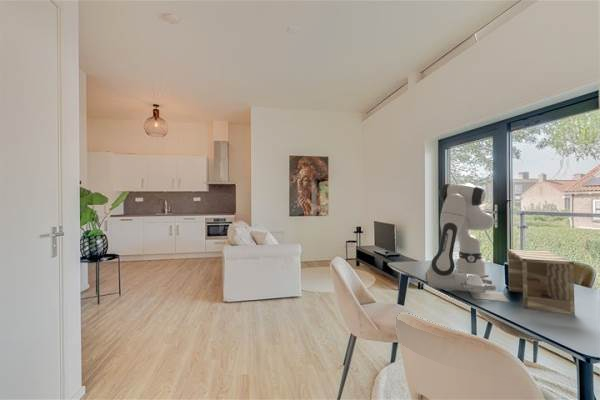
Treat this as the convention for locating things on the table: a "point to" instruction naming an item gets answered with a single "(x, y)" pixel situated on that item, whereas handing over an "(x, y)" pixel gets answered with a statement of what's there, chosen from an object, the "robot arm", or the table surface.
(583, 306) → the table surface
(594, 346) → the table surface
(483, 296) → the mat
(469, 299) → the table surface
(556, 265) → the cubby
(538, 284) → the block
